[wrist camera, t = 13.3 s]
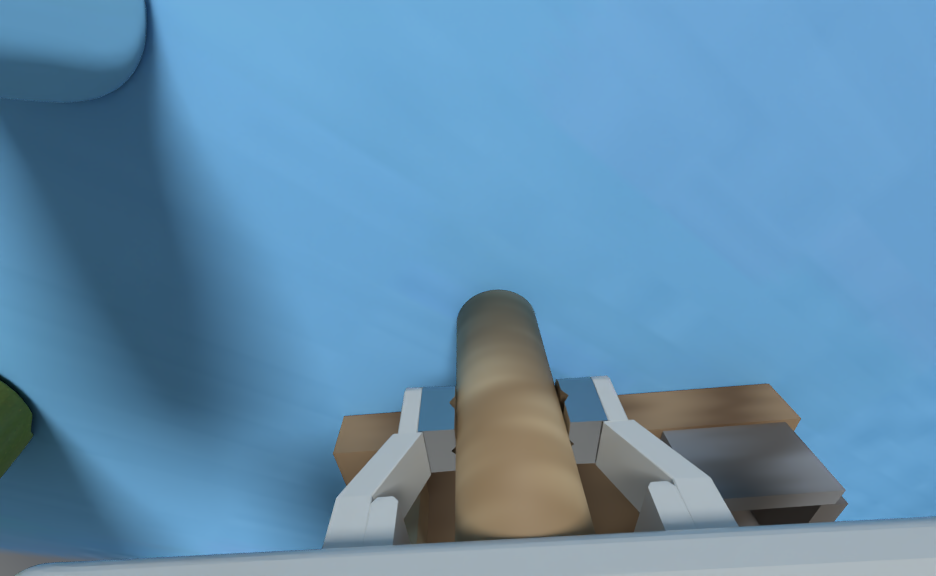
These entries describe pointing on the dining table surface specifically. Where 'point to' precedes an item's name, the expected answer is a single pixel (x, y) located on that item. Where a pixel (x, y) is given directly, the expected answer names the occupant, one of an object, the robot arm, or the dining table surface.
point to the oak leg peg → (511, 430)
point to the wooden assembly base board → (684, 430)
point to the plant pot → (12, 426)
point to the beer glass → (69, 47)
